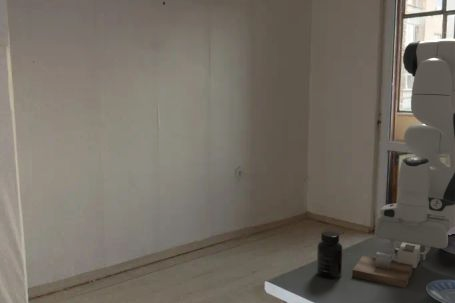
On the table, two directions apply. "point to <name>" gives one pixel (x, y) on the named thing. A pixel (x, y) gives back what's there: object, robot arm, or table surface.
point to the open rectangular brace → (409, 254)
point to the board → (383, 272)
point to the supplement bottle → (329, 256)
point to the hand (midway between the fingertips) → (408, 256)
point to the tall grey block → (383, 260)
